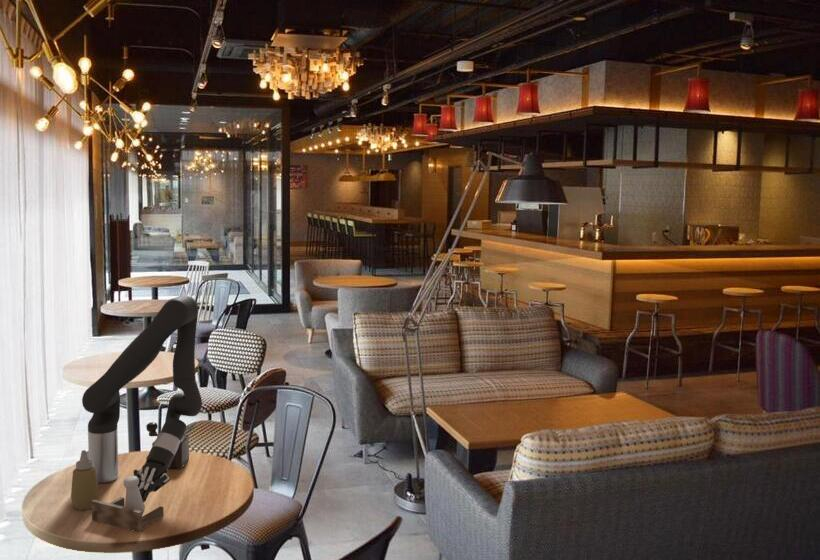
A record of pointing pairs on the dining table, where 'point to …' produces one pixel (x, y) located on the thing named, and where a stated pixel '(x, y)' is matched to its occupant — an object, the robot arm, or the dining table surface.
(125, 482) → the salt shaker
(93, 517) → the walnut bay
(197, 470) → the dining table surface
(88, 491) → the squeeze bottle
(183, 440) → the manual coffee grinder
